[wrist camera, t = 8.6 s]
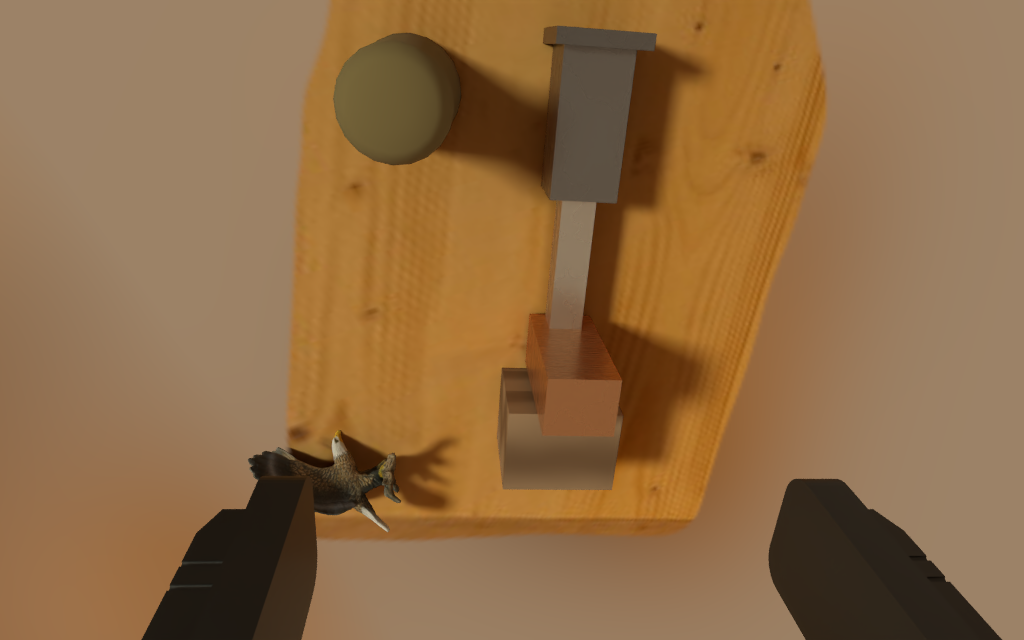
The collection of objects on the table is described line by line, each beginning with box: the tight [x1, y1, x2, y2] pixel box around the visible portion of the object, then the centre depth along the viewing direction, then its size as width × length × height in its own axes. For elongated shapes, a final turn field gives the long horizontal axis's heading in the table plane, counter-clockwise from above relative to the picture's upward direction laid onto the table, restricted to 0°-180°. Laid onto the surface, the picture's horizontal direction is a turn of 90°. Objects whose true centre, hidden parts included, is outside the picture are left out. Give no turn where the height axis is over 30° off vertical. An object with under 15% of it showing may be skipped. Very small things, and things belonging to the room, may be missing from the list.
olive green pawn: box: [333, 33, 461, 165], centre depth 32 cm, size 6×6×11 cm
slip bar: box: [525, 200, 622, 437], centre depth 38 cm, size 18×4×9 cm, turn 176°
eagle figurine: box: [248, 430, 401, 532], centre depth 44 cm, size 8×7×9 cm
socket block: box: [497, 368, 623, 490], centre depth 43 cm, size 6×7×6 cm
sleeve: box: [541, 26, 657, 203], centre depth 36 cm, size 9×5×5 cm, turn 176°
